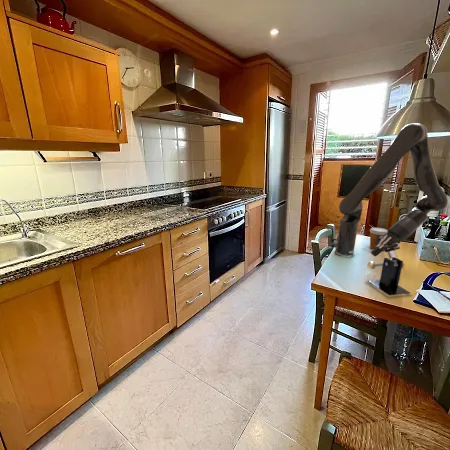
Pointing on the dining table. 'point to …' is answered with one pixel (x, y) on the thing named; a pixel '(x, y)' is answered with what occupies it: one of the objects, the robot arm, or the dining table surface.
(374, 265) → the lever
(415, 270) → the dining table surface
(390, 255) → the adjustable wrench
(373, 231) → the disposable coffee cup
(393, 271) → the bracket
